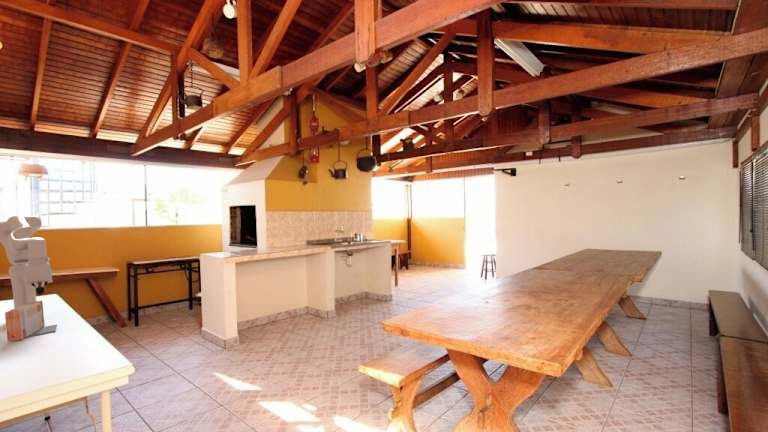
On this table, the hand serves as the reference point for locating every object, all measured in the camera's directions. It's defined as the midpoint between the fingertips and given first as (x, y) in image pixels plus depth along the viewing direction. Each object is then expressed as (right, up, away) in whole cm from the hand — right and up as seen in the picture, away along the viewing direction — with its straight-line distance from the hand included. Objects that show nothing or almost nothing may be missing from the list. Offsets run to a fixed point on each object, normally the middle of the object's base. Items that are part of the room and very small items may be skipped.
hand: (40, 294), depth 201 cm
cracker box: (+6, -9, -8) cm, 13 cm away
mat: (+13, -16, -13) cm, 25 cm away
